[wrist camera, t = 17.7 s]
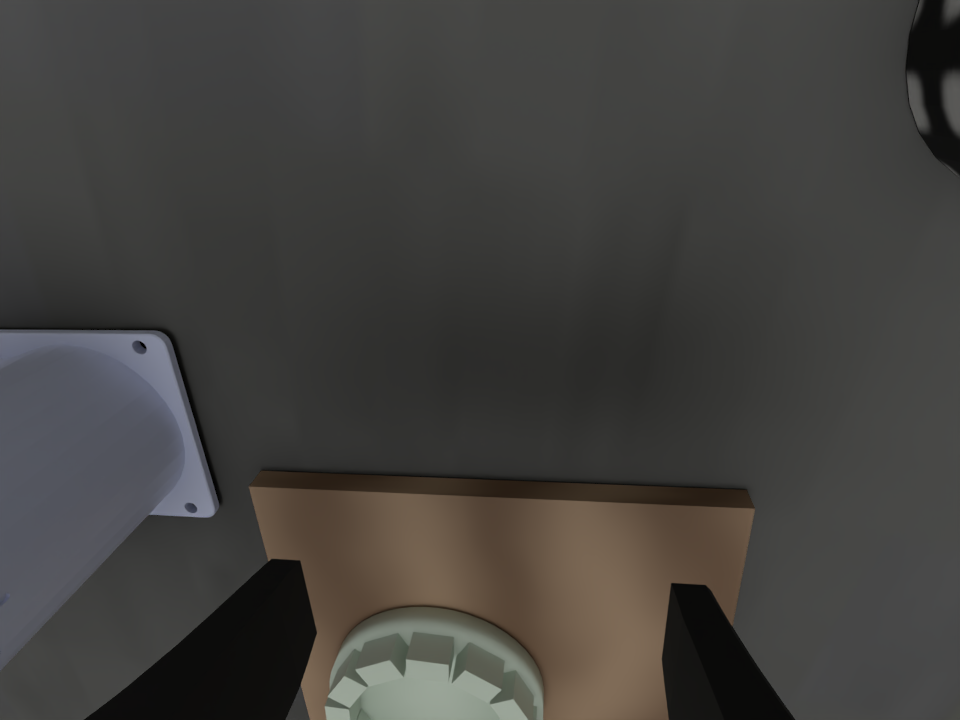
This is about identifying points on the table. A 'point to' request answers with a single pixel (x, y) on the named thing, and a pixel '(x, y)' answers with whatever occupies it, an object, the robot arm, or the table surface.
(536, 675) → the turntable
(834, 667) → the table surface
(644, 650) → the walnut board
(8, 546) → the robot arm
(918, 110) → the spotted tube
